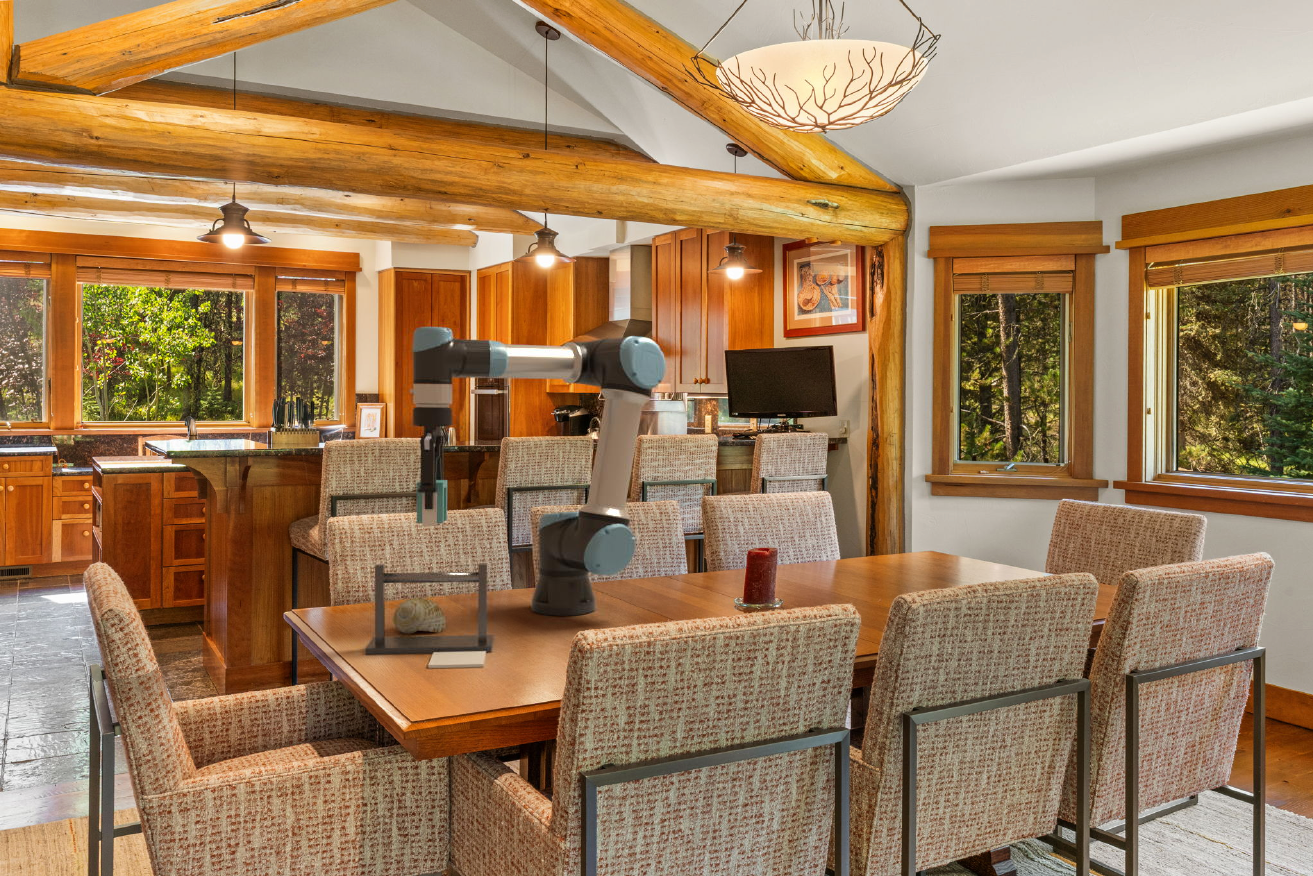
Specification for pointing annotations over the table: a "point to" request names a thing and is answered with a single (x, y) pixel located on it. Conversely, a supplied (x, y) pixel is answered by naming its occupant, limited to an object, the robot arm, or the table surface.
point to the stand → (429, 643)
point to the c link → (441, 501)
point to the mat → (457, 659)
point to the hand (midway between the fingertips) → (432, 523)
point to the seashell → (419, 616)
